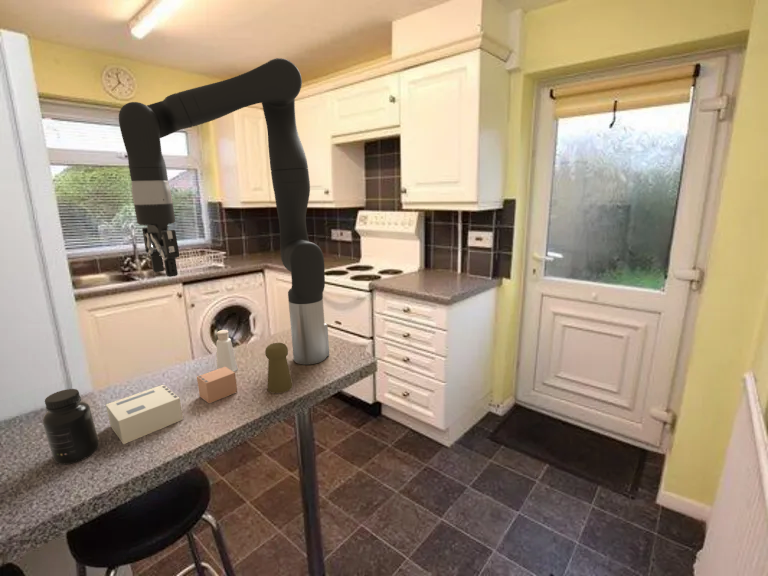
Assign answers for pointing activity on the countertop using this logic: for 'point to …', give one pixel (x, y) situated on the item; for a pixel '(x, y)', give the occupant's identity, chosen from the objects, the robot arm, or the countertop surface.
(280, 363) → the brown pawn
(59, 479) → the countertop surface
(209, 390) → the orange box
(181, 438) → the countertop surface
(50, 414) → the supplement bottle
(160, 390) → the cream box
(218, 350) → the salt shaker
